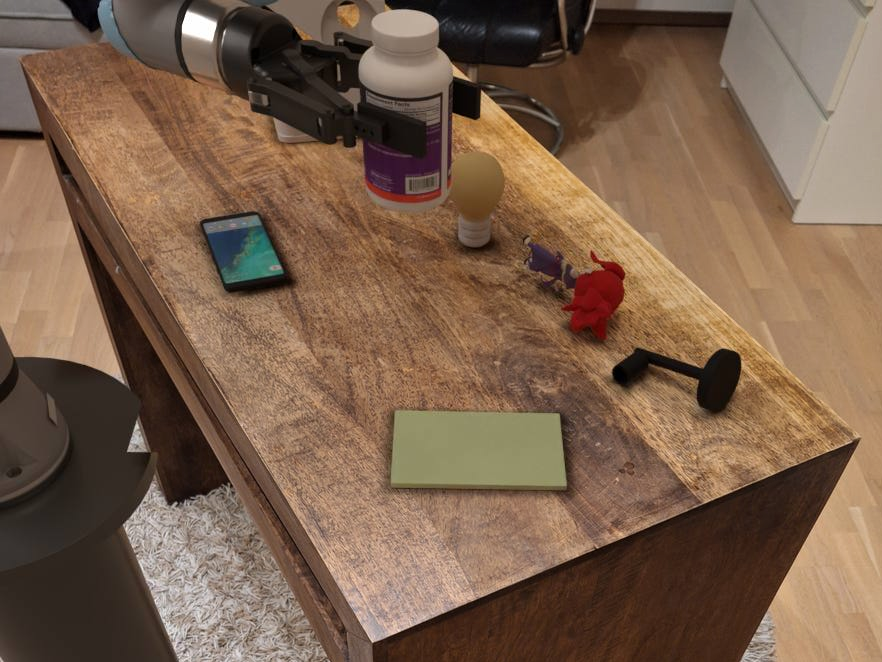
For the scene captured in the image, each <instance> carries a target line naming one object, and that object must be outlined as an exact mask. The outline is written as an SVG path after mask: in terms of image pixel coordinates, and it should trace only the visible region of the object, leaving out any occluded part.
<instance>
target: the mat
mask: <svg viewBox="0 0 882 662" xmlns="http://www.w3.org/2000/svg"><path fill="white" fill-rule="evenodd" d="M393 420H394V422H393V423H394V424H393V436H392V437H393V438H392V453H391V466H390V467H391V469H390V470H391V471H390V488H396V489H397V488H398V489H399V488H400V489H456V490H458V489H459V490H511V491H512V490H513V491H514V490H515V491H516V490H521V491H567V487H568V483H567V475H566V473H567V472H566V463H565V455H564V454H565V453H564V443H563V433H562V423H561V414H560V413H555V412H554V413H552V412H509V411H507V412H505V411H503V412H502V411H456V410H455V411H454V410H409V409H408V410H406V409H405V410H404V409H403V410H401V409H400V410H399V409H396V410H394V419H393Z"/></svg>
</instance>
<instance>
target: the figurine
mask: <svg viewBox="0 0 882 662" xmlns="http://www.w3.org/2000/svg"><path fill="white" fill-rule="evenodd" d="M531 238H532V236H531V235H529V234H527V235H526V236H524V237H523V238H522V244H523V245H526V246H528V247H529V248H530V250H529V252H528V256H527V258H525V259H524V262H523V263H524V265H525V266H528V269H529V270H530V271H532V272H535V273H540V274H543V275H545V276H548V277H551V278H552V279H550V280H548V281H543V276H542V275H540V280H541V285H542V288H543V289H545V290H546V289H549V288H551V287H552V286H553V285H554V284H555V283H556V282H557V281H560V282H562V283H563V284H561V285H559V286H556V287H555V286H554V289H555V292H557V293H559V291H564V290H571V289H573V299H572V301H571V302H570V303H569V304H567V305H565V306H563V307H561V308H560V310H561V311H564V312H572V313H571V316H570V322H569V328H570V329H571V330H572V332H573V333H579V332H581V331H582V330H583V329H585V327H589V328H590V330H591V331H592V333H593V334H594V335H595V336H596V337H597V338H599V339H600V340H601V341H606V340H607V339H608V338H607V337H608V336H607V330H608V319H610V318H612V317H613V315H614V314H615V312H616V311H617V309H619V307H620V305H621V304H622V303H623V301H624V297H625V292H626V289H625V286H624V280H625V278H626V274H627V273H626V272H625V270H624V268H623V267H622V266H621V265H620V264H618V263H617V262H615V261H609V260H608V261H607V260H606V261H605V260H600V259H599V258H598V257H597V255H596V254H595V252H594V251H593V250H592V249H590V251H589V257H590V259H591V261H592V262H593V264H598V265H599V266H600V267H601V268H602V269H596V270H595V269H593V268H589V267H588V268H584V269H583V270H582V271H581V272H580V273H579V272H578V270H577V269H576V268H575V267H573V266H572V264H570V263H569V262H568V261H567V260H566V258H565V256H564V255H563V254H562V253H561V251H559V249H558V246H557V245H555V244H552V248H553V249H554V251H555V253H556V254H557V255H555V254H553V253H552V252H551V251H549V250H548V249H546V248H545V247H543V246H542V245H541V244H539V243H533V242H531ZM530 255H531V256H530Z"/></svg>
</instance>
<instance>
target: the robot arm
mask: <svg viewBox="0 0 882 662" xmlns="http://www.w3.org/2000/svg"><path fill="white" fill-rule="evenodd" d="M277 1H278V0H99V7H98V8H97V16H98V21H99V24H100V28H101V30H102V33H103V34H104V36H105V38H106V39H107V41H108V43H110V45H111V46H112V48H114V49H115V50H116V51H117V52H119V53H120V54H121V55H123V56H125V57H127V58H130V59H132V60H134V61H136V62H138V63H139V64H141V65H142V66H144V67H146V68H148V69H149V68H150V69H152V70H155V71H156V70H158V71H161V72H166V73H168V74H172V75H175V76H178V77H182V78H184V79H188V80H189V81H190V80H191V81H192V82H193V83H198V84H201V85H204V86H206V87H210V88H211V89H215V90H218V91H221V92H224V94H225V95H227V96H228V97H229V96H234V97H238V98H240V99H242V100H243V101H244V100H245V101H247V102H249V105H250V111H251V112H252V113H256V114H261V115H264V116H268V117H272V118H273V117H274V118H276V119H277V120H279V121H281V122H283V123H285V124H287V125H289V126H291V127H293V128H295V129H297V130H299V131H301V132H303V133H305V134H307V135H309V136H311V137H313V138H315V139H317V140H319V141H318V142H321V143H322V144H324V145H328V146H333V145H335V144H337V142H338V139H337V137H338V136H342V137H343V139H342V144H343V148H345V149H353V148H356V147H357V138H360V139H365V140H368V141H371V142H374V143H377V144H380V145H383V146H385V147H388V148H391V149H394V150H397V151H400V152H402V153H405V154H408V155H411V156H414V157H417V158H420V159H423V158H424V157H426V156H427V122H424V121H421V120H418V119H415V118H412V117H409V116H406V115H404V114H401V113H398V112H395V111H392V110H389V109H386V108H383V107H380V106H377V105H374V104H371V103H368V102H365V101H361V102H359V103H357V111H354V105H353V104H352V103H351V102H349V101H348V100H347V99H346V98H344V97H343V96H342V95H340V94H339V93H338V92H341V93H347V92H348V91H349V89H350V88H358V89H360V88H359V63H360V60H361V58H362V56H363V54H364V53H365V52H366V51H367V50H368V49H369V48H371V47H372V46H374V45H373V43H372V41H370V40H365V39H360V38H356V37H354V36H352V35H349V34H347V33H345V32H341V31H338V32H335V33H333V37H334V43H332V44H329V45H325V44H323V43H321V42H319V41H316V40H312V39H303V38H302V36H301V35H300V34H299V32H298V31H297V29H296V27H295V26H294V25H293V24H292V23H291V22H290V21H289V20H288V19H287V18H286V17H285V16H283V15H281V14H278V13H275V12H274V11H272V10H267V9H263V8H261V7H266V5H270V4H273V3H275V2H277ZM258 6H261V7H258ZM337 64H338V65H340V78H341V81H337V80H338V69H337ZM481 103H482V84H481V83H477V82H473V81H471V80H467V79H464V78H462V77H458V76H454V75H453V104H452V114H455V115H458V116H460V117H463V118H467V119H470V120H472V121H478V120H479V119H480V118H481V108H482V106H481V105H482V104H481ZM319 118H320V119H321V126H322V127H321V126H320V124H319ZM356 136H357V138H356ZM15 357H16V356H14V353H13V351H12V349H11V346H10V344H9V341H8V339H7V338H6V335H5V332H4V330H3V328H2V326H1V325H0V510H2V509H5V508H8V507H11V506H14V505H16V504H19V503H21V502H23V501H25V500H27V499H29V498H31V497H33V496H35V495H36V494H38V493H39V492H41V491H42V490H44V489H45V488H46V487H48V486H49V485H50V484H51V483H52V482H53V481H54V480H55V479H56V478H57V477H58V476H59V475H60V474H61V473H62V471H63V470H64V469H65V467H66V465H67V463H68V461H69V459H70V456H71V453H72V447H73V441H72V436H71V433H70V430H69V428H68V425H67V423H66V421H65V419H64V417H63V415H62V414H61V413H60V411H59V409H58V408H57V407H56V406H55V403H54V400H53V398H52V397H51V396H50V395H49V394H48V393H47V397H46V396H45V395H44V394H43V393H42V392H41V391H40V390H39V389H38V387H37V386H36V385H35V384H34V383H33V382H32V381H31V380H30V379H29V378H28V377H27V376H26V375H25V373H24V372H23V371H22V370H21V369H20V368H19V366H18V364H17V362H16V360H15Z"/></svg>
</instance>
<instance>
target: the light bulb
mask: <svg viewBox="0 0 882 662" xmlns="http://www.w3.org/2000/svg"><path fill="white" fill-rule="evenodd" d="M505 184H506V182H505V173H504V170H503V167H502V166H501V164H500V162H499V160H497V158H495V156H493V155H491V154H489V153H486V152H483V151H476V150H473V151H467V152H464V153H462V154H461V155H459V156H458V157H457V158H456V159H455V160H454V161H453V163H451V190H450V193H449V195H448V196H449V198H450V200H451V202H452V203H453V205H454V206H455V207H456V209H457V210H458V211H459V214H458V225H457V226H458V227H457V229H458V233H457V237H458V240H459V241H460V243H462V244H463V245H464V246H466V247H470V248H480V247H483V246H484V245H487V244H488V243H489V241H490V239H491V227H492V225H491V222H492V216H491V213H492V212H493V211H494V210H495V208H496V207H497V206H498V204H499V203H500V202H501V200H502V197H503V195H504V192H505V186H506V185H505Z"/></svg>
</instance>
